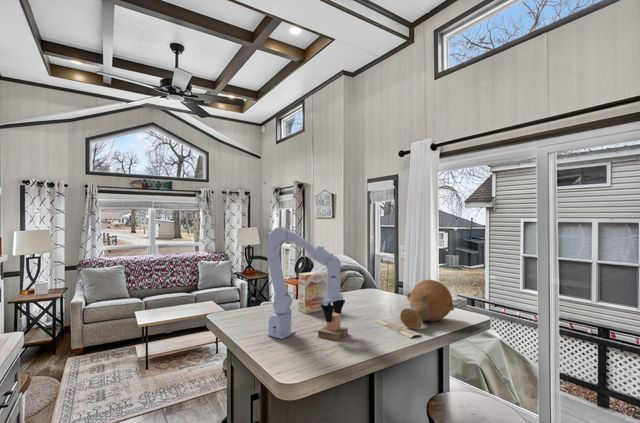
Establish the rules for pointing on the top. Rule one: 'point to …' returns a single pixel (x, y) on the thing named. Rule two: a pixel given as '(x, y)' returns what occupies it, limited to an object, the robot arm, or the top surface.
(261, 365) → the top surface
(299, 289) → the coffeecake box
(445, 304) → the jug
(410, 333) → the newspaper
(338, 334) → the walnut base block
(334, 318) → the terracotta block
